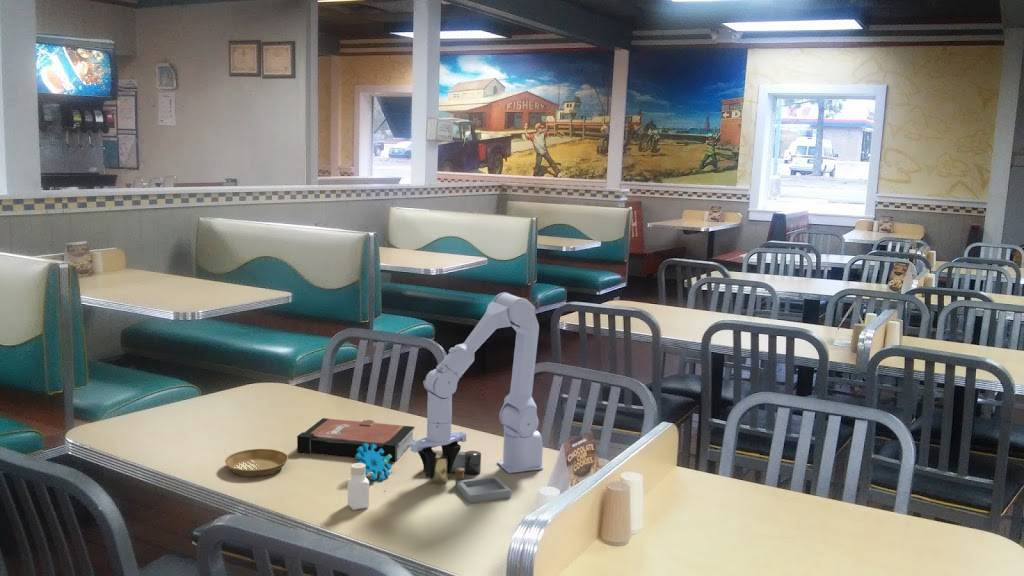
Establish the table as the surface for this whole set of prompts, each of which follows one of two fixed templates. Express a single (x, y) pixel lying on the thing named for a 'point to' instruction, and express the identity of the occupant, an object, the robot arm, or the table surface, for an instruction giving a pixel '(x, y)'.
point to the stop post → (459, 475)
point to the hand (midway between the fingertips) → (438, 474)
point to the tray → (483, 489)
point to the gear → (374, 461)
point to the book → (354, 438)
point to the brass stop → (440, 469)
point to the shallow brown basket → (257, 461)
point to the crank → (466, 461)
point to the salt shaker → (358, 487)
